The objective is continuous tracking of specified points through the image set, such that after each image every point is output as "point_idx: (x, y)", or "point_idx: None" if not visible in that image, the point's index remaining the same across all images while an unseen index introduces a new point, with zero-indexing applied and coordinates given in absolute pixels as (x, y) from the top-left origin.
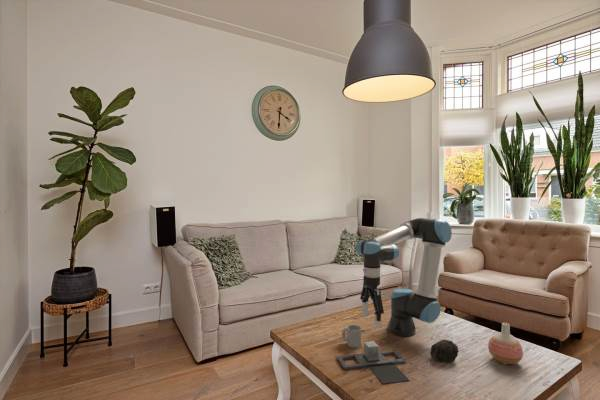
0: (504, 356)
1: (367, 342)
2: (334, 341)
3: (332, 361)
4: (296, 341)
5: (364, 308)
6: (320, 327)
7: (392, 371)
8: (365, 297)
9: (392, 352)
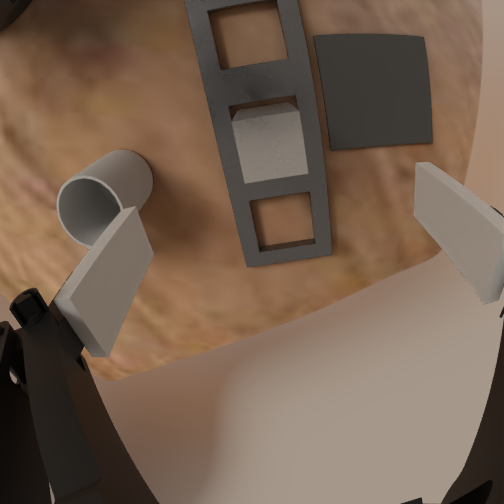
0: None
1: (251, 164)
2: None
3: (266, 276)
4: (142, 351)
5: (121, 289)
6: (32, 280)
7: (366, 69)
8: (113, 432)
9: (208, 15)
